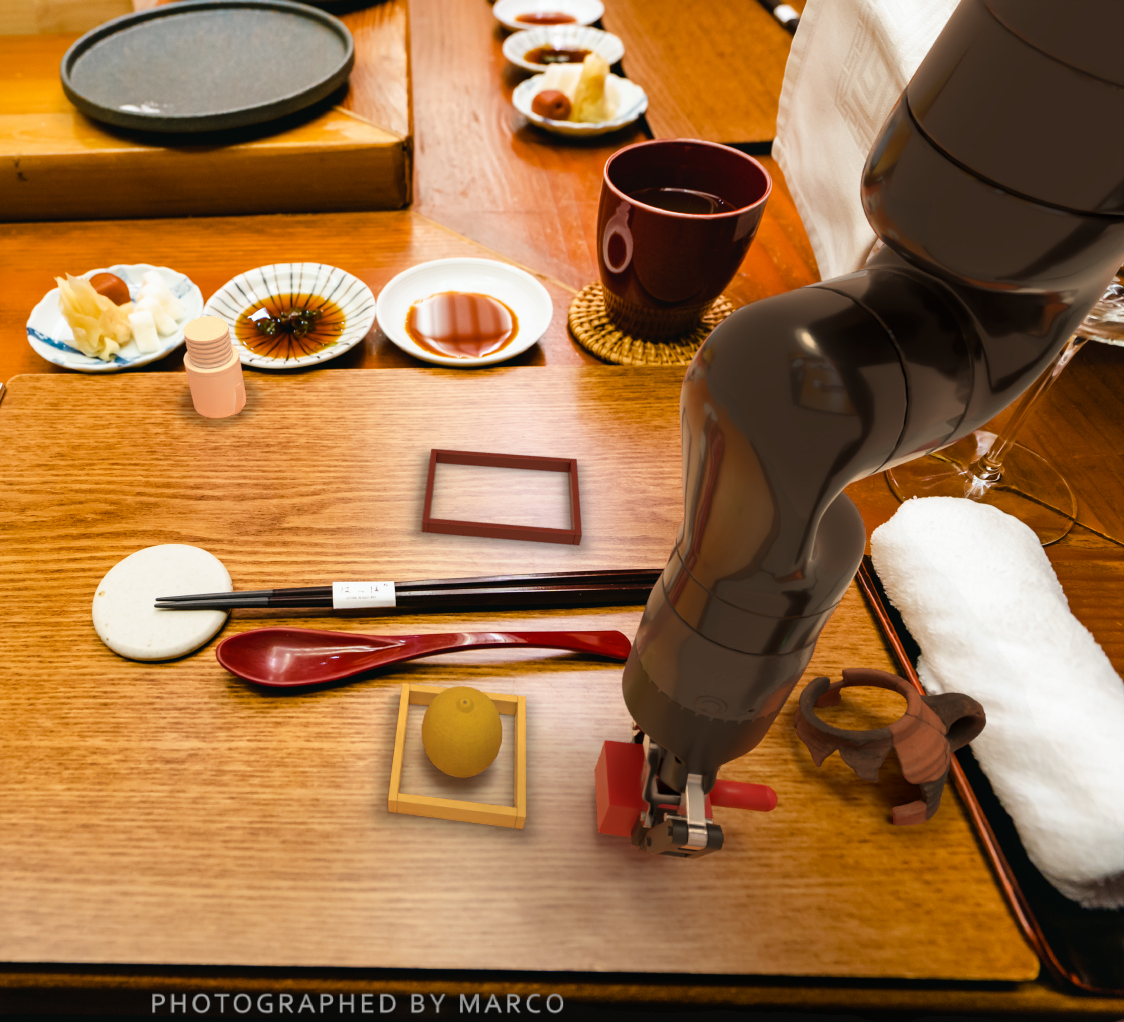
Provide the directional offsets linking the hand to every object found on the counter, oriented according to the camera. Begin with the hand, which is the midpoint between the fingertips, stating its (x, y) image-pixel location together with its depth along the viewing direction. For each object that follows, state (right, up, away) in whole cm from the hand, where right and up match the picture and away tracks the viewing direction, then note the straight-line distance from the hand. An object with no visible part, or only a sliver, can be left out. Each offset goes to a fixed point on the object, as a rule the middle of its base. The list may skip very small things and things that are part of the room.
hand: (644, 803), depth 52 cm
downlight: (-34, +31, +37) cm, 59 cm away
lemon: (-11, +1, +6) cm, 13 cm away
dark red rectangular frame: (-5, +20, +25) cm, 32 cm away
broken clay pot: (+18, +1, +6) cm, 19 cm away
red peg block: (+2, 0, 0) cm, 2 cm away
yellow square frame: (-11, +1, +6) cm, 13 cm away
